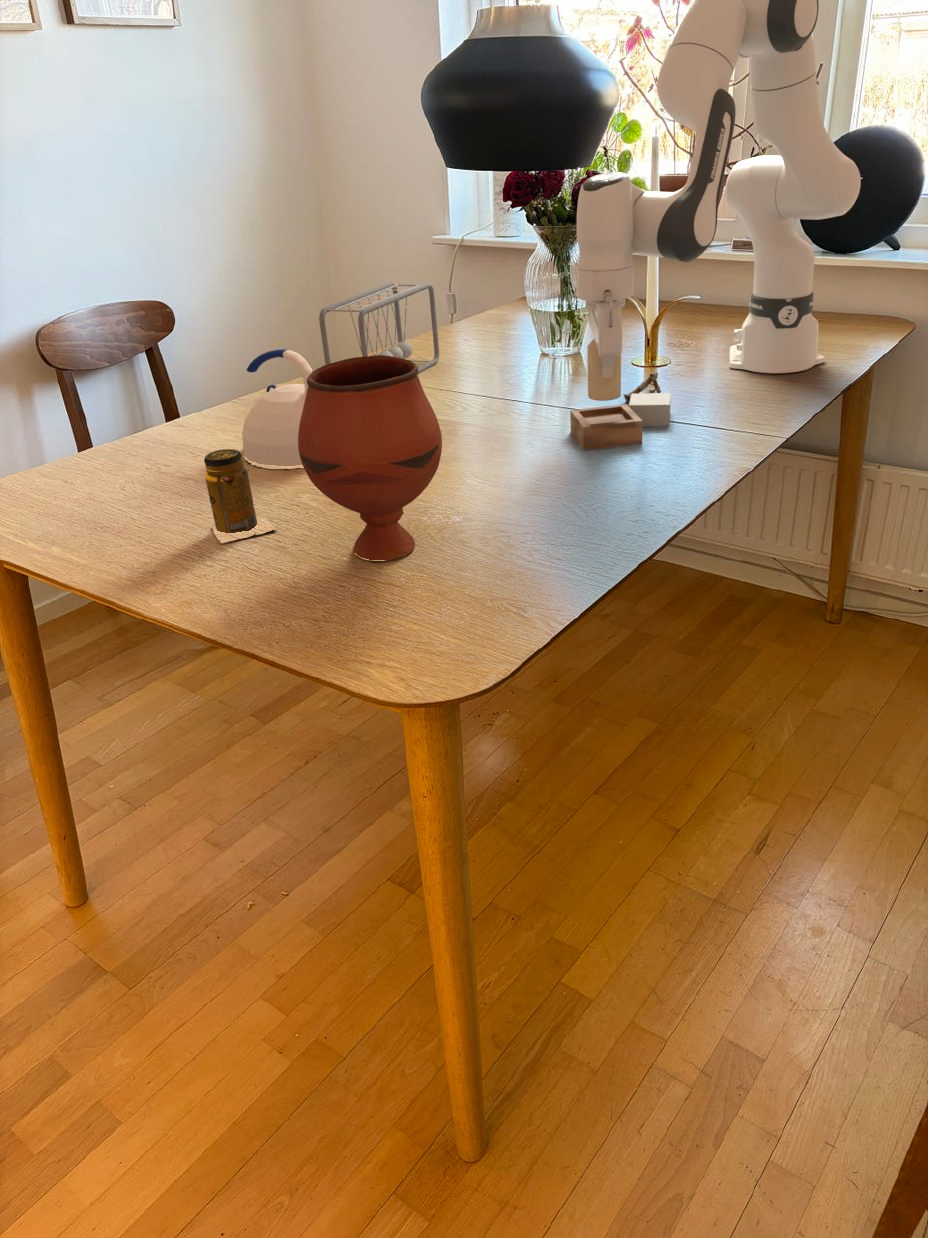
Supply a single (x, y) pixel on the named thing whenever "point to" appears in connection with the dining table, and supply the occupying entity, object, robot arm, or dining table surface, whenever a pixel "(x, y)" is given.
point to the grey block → (652, 408)
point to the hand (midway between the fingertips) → (605, 370)
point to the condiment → (229, 491)
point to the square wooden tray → (606, 427)
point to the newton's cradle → (402, 347)
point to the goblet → (370, 445)
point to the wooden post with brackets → (645, 384)
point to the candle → (596, 382)
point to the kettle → (276, 416)
